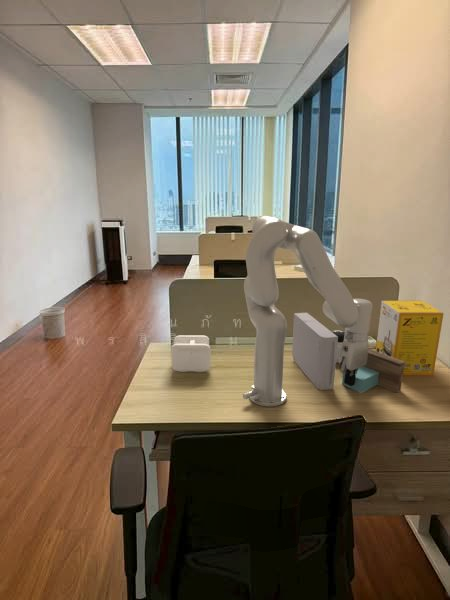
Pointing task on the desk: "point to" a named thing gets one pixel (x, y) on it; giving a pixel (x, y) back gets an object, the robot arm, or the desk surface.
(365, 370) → the teal block
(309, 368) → the game console
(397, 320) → the packaging box
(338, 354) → the medicine bottle
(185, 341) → the cable organizer
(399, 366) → the walnut board
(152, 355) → the desk surface
